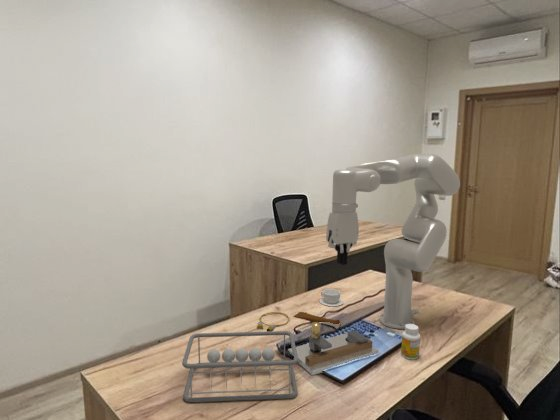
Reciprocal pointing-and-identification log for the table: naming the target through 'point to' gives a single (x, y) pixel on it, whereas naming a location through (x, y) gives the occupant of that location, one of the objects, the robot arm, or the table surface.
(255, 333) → the newton's cradle
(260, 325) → the extension cord
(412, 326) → the supplement bottle
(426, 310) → the table surface
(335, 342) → the bolt plate
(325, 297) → the teacup
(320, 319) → the primitive tool
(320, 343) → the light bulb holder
